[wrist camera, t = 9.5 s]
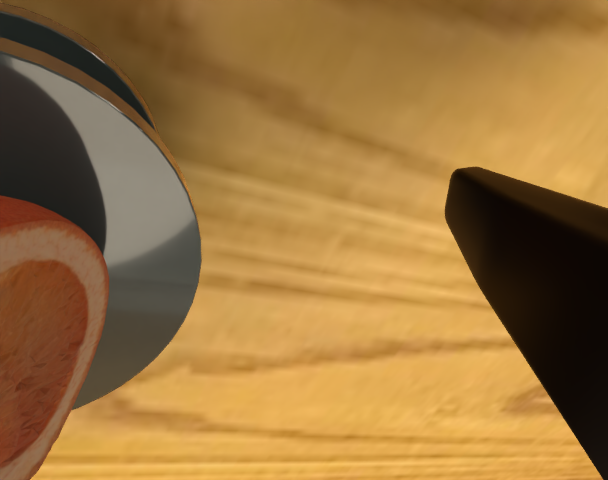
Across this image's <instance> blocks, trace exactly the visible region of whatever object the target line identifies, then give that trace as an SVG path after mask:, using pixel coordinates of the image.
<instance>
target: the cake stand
mask: <svg viewBox="0 0 608 480" xmlns="http://www.w3.org/2000/svg"><path fill="white" fill-rule="evenodd" d="M0 195H1V196H6V197H10V198H15V199H19V200H24V201H28V202H31V203H34V204H37V205H39V206H41V207H44V208H46V209H48V210H51V211H53V212H55V213H57V214H59V215H60V216H62V217H64V218H66V219H68V220H69V221H71V222H72V223H74V224H76V225H77V226H79V227H80V228H81V229H82V230H83V231H84V232H86V233H87V234H88V235H89V236H90V237H91V239H92V240H93V241H94V242H95V243H96V245H97V246H98V248H99V249H100V251H101V253H102V255H103V257H104V259H105V262H106V265H107V270H108V275H109V296H108V305H107V310H106V316H105V322H104V326H103V330H102V335H101V338H100V340H99V343H98V346H97V349H96V352H95V355H94V358H93V360H92V363H91V366H90V368H89V371H88V374H87V376H86V379H85V381H84V383H83V385H82V387H81V389H80V391H79V394H78V396H77V398H76V401H75V403H74V405H73V407H72V409H71V410H74V409H76V408H79V407H81V406H83V405H86V404H88V403H90V402H92V401H94V400H96V399H99V398H101V397H103V396H104V395H106V394H108V393H110V392H111V391H113V390H115V389H116V388H118V387H120V386H122V385H123V384H125V383H126V382H127V381H129V380H130V379H131V378H133V377H134V376H136V375H137V374H138V373H140V372H141V371H142V370H143V369H144V368H145V367H147V366H148V365H149V364H150V363H151V362H152V361H153V360H154V359H155V358H156V357H157V356H158V355H159V354H160V353H161V352H162V351H163V350H164V348H165V347H166V346H167V345H168V344H169V343H170V341H171V340H172V339H173V337H174V336H175V334H176V333H177V331H178V330H179V328H180V327H181V325H182V324H183V322H184V320H185V318H186V316H187V313H188V311H189V309H190V307H191V305H192V303H193V300H194V296H195V293H196V290H197V286H198V283H199V276H200V269H201V261H202V259H201V236H200V231H199V226H198V221H197V216H196V212H195V208H194V205H193V201H192V198H191V195H190V193H189V190H188V187H187V184H186V181H185V179H184V176H183V174H182V172H181V171H180V169H179V167H178V165H177V163H176V161H175V159H174V157H173V156H172V154H171V152H170V151H169V150H168V148H167V147H166V145H165V144H164V143H163V141H162V140H161V139H160V137H159V134H158V131H157V128H156V125H155V123H154V120H153V117H152V115H151V113H150V111H149V109H148V107H147V105H146V103H145V102H144V100H143V98H142V96H141V95H140V93H139V92H138V90H137V89H136V88H135V86H134V85H133V83H132V82H131V81H130V79H129V78H128V77H127V76H126V75H125V74H124V72H123V71H122V70H121V69H120V68H119V67H118V66H117V65H116V64H115V63H114V62H113V61H112V60H111V59H110V58H109V57H108V56H106V55H105V54H104V53H103V52H102V51H101V50H99V49H98V48H97V47H96V46H95V45H93V44H92V43H90V42H89V41H87V40H86V39H84V38H83V37H81V36H80V35H78V34H77V33H75V32H74V31H72V30H70V29H69V28H67V27H65V26H63V25H61V24H59V23H57V22H55V21H53V20H51V19H49V18H47V17H44V16H42V15H39V14H36V13H34V12H31V11H29V10H26V9H23V8H20V7H16V6H12V5H8V4H4V3H0Z"/></svg>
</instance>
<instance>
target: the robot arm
mask: <svg viewBox="0 0 608 480" xmlns="http://www.w3.org/2000/svg"><path fill="white" fill-rule="evenodd" d="M445 218H446V222H447V224H448V226H449V228H450V230H451V232H452V234H453V236H454V238H455V240H456V242H457V244H458V246H459V248H460V250H461V252H462V254H463V256H464V258H465V260H466V262H467V264H468V266H469V268H470V270H471V272H472V274H473V276H474V278H475V280H476V282H477V284H478V286H479V287H480V289H481V291H482V292H483V294H484V296H485V297H486V299H487V300H488V302H489V303H490V305H491V307H492V308H493V310H494V311H495V313H496V314H497V316H498V317H499V319H500V320H501V322H502V324H503V325H504V327H505V328H506V330H507V331H508V333H509V334H510V336H511V337H512V339H513V341H514V342H515V344H516V345H517V347H518V348H519V350H520V351H521V353H522V354H523V356H524V358H525V359H526V361H527V362H528V364H529V365H530V367H531V368H532V370H533V371H534V373H535V375H536V376H537V378H538V379H539V381H540V382H541V384H542V385H543V387H544V388H545V390H546V392H547V393H548V395H549V396H550V398H551V399H552V401H553V402H554V404H555V405H556V407H557V409H558V410H559V412H560V413H561V415H562V416H563V418H564V419H565V421H566V422H567V424H568V426H569V427H570V429H571V430H572V432H573V433H574V435H575V436H576V438H577V439H578V441H579V443H580V444H581V446H582V447H583V449H584V450H585V452H586V453H587V455H588V456H589V458H590V460H591V461H592V463H593V464H594V466H595V467H596V469H597V470H598V472H599V473H600V475H601V477H602V478H603V480H608V208H605V207H602V206H599V205H596V204H592V203H589V202H586V201H583V200H580V199H577V198H574V197H571V196H567V195H564V194H561V193H558V192H555V191H552V190H549V189H546V188H542V187H539V186H536V185H533V184H530V183H527V182H524V181H520V180H517V179H514V178H511V177H508V176H505V175H502V174H499V173H495V172H492V171H489V170H486V169H483V168H480V167H468V168H461V169H457V170H455V171H454V172H453V173H452V175H451V179H450V184H449V189H448V194H447V200H446V205H445Z"/></svg>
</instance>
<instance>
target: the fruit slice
mask: <svg viewBox="0 0 608 480" xmlns="http://www.w3.org/2000/svg"><path fill="white" fill-rule="evenodd" d="M108 296H109V275H108V270H107V265H106V262H105V259H104V257H103V255H102V253H101V251H100V249H99V248H98V246H97V245H96V243H95V242H94V241H93V240H92V239H91V237H90V236H89V235H88V234H87V233H86V232H84V231H83V230H82V229H81V228H80V227H79V226H77V225H76V224H74V223H72V222H71V221H69V220H68V219H66V218H64V217H62V216H60V215H59V214H57V213H55V212H53V211H51V210H48V209H46V208H44V207H41V206H39V205H37V204H34V203H31V202H28V201H24V200H19V199H15V198H10V197H6V196H1V195H0V480H30V479H31V478H32V477H33V476H34V475H35V474H36V472H37V471H38V470H39V468H40V467H41V465H42V464H43V462H44V460H45V458H46V456H47V455H48V453H49V451H50V450H51V447H52V445H53V443H54V442H55V441H56V440H57V438H58V436H59V434H60V432H61V430H62V427H63V425H64V423H65V421H66V419H67V417H68V415H69V413H70V411H71V409H72V407H73V405H74V403H75V401H76V398H77V396H78V394H79V391H80V389H81V387H82V385H83V383H84V381H85V379H86V376H87V374H88V371H89V368H90V366H91V363H92V360H93V358H94V355H95V352H96V349H97V346H98V343H99V340H100V338H101V335H102V330H103V326H104V322H105V316H106V310H107V305H108Z"/></svg>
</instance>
